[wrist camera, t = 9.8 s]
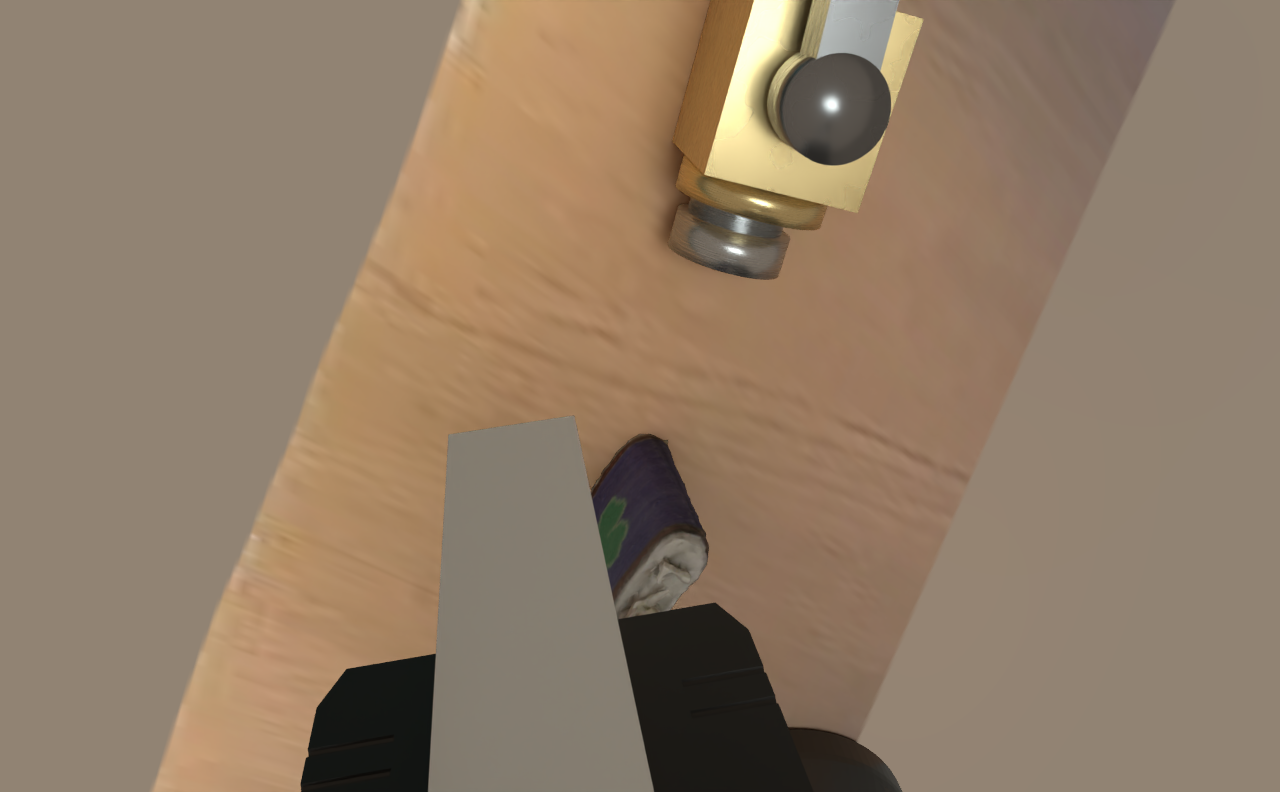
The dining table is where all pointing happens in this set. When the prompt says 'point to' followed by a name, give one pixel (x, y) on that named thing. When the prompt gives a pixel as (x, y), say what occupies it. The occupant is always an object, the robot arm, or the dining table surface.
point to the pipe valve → (758, 141)
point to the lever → (835, 82)
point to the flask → (647, 528)
